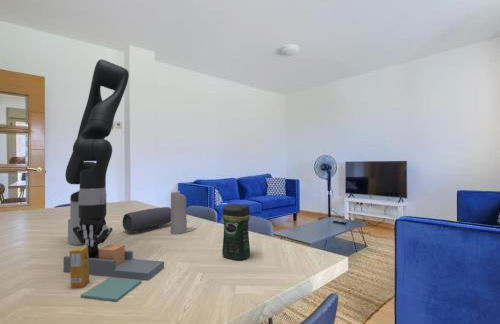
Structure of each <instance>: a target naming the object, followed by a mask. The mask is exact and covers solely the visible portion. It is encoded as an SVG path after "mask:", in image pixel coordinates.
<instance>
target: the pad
mask: <svg viewBox="0 0 500 324" xmlns="http://www.w3.org/2000/svg"><path fill="white" fill-rule="evenodd" d="M141 283H142V280H138V279H128V278H118V277H108V278H106V279H105V280H103V281H101V282H99V283H98V284H95V285H94V286H93V287H92V288H89V289H88V290H87V291H85V292H83V293H82V294H80V298H83V299H91V300H92V299H93V300H97V301H105V302H106V301H109V302H114V303H115V302H118V301H120V300H121V299H122V298H123V297H125V296H127V294H129V293H131V291H132V290H134V289H135V288H136V287H138V286H139V285H140V284H141Z"/></svg>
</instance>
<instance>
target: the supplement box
mask: <svg viewBox="0 0 500 324" xmlns="http://www.w3.org/2000/svg"><path fill="white" fill-rule="evenodd" d="M69 256H70V289H79V288H85V286H87V284H88V283H90V275H89V258H88V247H87V246H78V247H75V248H73V249H72V250H70V251H69Z"/></svg>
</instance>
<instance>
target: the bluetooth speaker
mask: <svg viewBox="0 0 500 324" xmlns="http://www.w3.org/2000/svg"><path fill="white" fill-rule="evenodd" d="M169 223H170V224H171V207H168V206H166V207H165V206H163V207H156V208H147V209H142V210H137V211H132V212H129V213H128V212H127V213H125V214H124V215H123V218H122V228H123V230H124V231H125V232H135V231H137V232H140V231H142V232H146V230H148V231H151V229H152V230H156V229H159V228H160V226H163V225H167V224H169ZM155 228H156V229H155Z"/></svg>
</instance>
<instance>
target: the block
mask: <svg viewBox="0 0 500 324" xmlns="http://www.w3.org/2000/svg"><path fill="white" fill-rule="evenodd" d="M125 251H126V245H125V244H115V243H109V244H108V245H106V246H103V247H101V248H100V249H99V259H107V260H116V265H118V264H120V263H122V262H123V261H125Z"/></svg>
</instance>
